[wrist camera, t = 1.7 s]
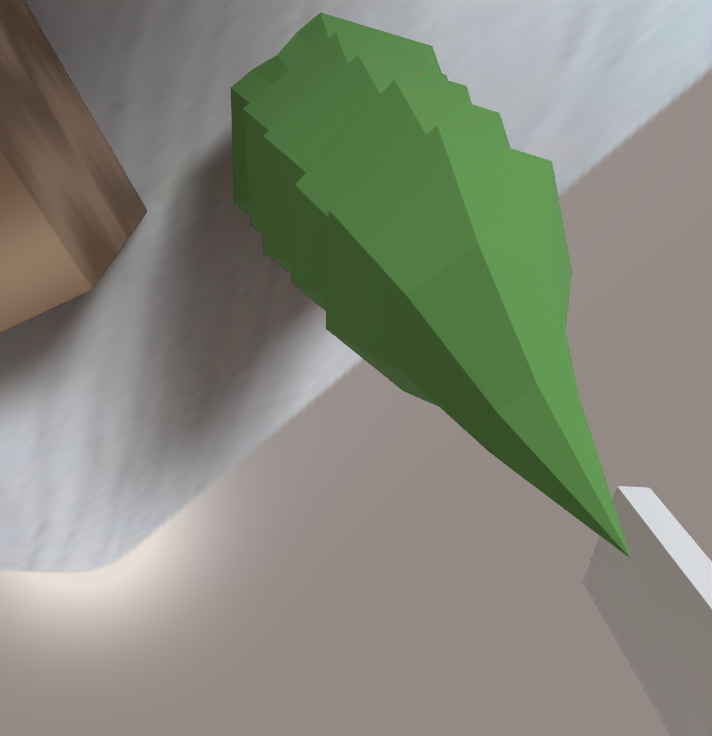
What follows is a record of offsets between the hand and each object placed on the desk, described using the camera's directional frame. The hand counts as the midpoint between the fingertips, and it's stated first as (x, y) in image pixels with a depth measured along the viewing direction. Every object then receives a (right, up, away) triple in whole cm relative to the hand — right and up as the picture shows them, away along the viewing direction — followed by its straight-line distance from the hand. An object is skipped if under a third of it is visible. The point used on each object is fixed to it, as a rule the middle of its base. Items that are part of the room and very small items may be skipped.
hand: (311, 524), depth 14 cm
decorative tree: (-1, +15, +20) cm, 25 cm away
